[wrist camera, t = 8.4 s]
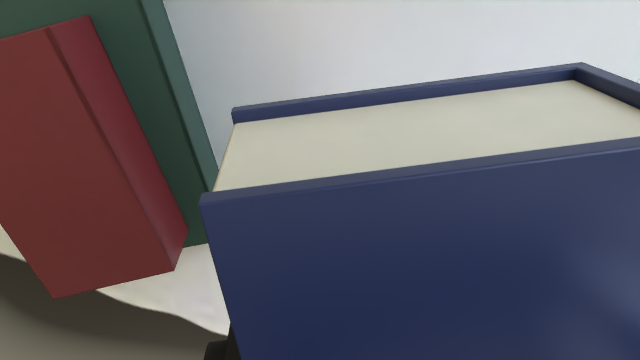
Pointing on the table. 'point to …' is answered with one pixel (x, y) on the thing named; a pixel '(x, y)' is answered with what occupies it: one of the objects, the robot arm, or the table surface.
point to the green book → (142, 86)
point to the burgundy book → (79, 166)
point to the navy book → (435, 221)
